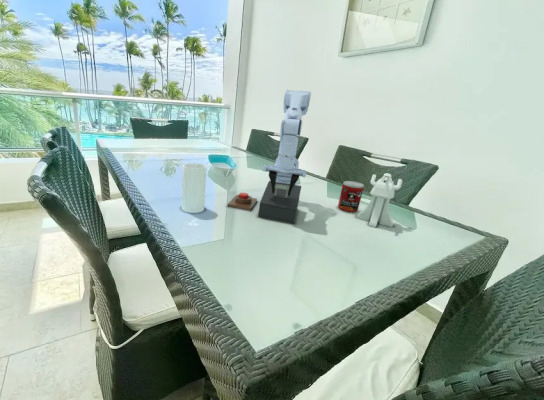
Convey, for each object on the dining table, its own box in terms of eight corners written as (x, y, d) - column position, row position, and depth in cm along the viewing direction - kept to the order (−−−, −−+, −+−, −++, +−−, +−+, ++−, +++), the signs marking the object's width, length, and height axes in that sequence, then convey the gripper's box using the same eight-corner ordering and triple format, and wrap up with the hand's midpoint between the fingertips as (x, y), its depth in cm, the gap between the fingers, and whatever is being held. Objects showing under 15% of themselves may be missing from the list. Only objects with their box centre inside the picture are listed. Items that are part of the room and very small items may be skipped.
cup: (186, 214, 94) (187, 169, 89) (178, 205, 101) (179, 163, 96) (207, 211, 98) (210, 168, 93) (199, 203, 105) (200, 162, 99)
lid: (268, 182, 108) (269, 170, 105) (301, 187, 105) (303, 175, 102) (259, 204, 95) (260, 191, 92) (296, 210, 92) (298, 197, 89)
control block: (236, 197, 115) (236, 190, 114) (256, 201, 113) (257, 194, 112) (227, 206, 104) (228, 199, 103) (250, 211, 102) (251, 203, 101)
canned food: (337, 210, 109) (343, 184, 106) (337, 204, 117) (343, 179, 113) (358, 214, 107) (365, 187, 103) (357, 208, 114) (363, 182, 110)
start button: (240, 195, 110) (240, 192, 109) (248, 197, 109) (249, 193, 108) (237, 198, 106) (238, 194, 106) (246, 199, 105) (247, 196, 105)
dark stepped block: (265, 203, 111) (267, 192, 109) (297, 209, 107) (299, 197, 106) (258, 217, 97) (259, 204, 95) (294, 224, 93) (296, 211, 92)
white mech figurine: (353, 222, 99) (366, 174, 93) (359, 212, 109) (371, 168, 103) (391, 232, 93) (407, 181, 87) (393, 221, 103) (407, 174, 97)
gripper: (263, 154, 90) (258, 193, 95) (308, 160, 87) (301, 200, 91) (267, 151, 97) (262, 187, 101) (309, 156, 93) (302, 194, 98)
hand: (281, 193), depth 97 cm, fingers closed on lid, 5 cm apart
